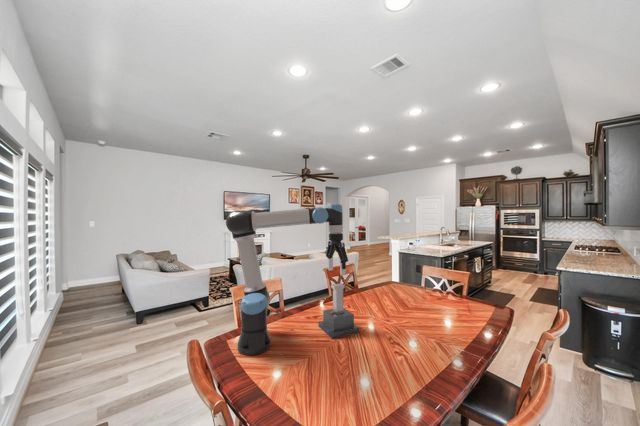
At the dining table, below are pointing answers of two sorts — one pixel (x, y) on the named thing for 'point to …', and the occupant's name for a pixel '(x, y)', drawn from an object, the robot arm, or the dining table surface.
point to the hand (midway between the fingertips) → (336, 272)
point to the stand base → (338, 323)
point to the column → (338, 298)
